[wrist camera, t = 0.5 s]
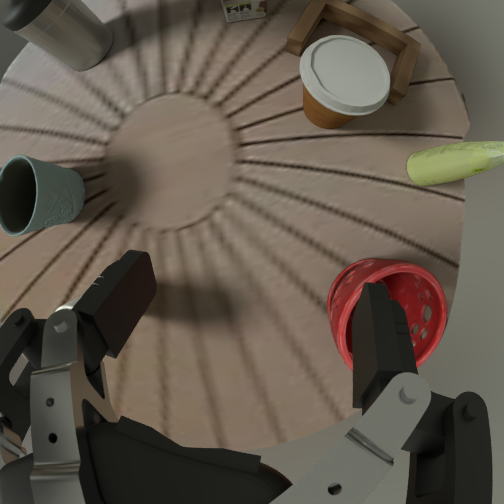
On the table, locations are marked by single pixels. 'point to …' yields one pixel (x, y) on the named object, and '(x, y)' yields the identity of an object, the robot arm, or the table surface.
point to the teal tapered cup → (38, 195)
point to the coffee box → (243, 9)
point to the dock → (366, 25)
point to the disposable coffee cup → (342, 80)
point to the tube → (454, 161)
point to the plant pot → (399, 288)
